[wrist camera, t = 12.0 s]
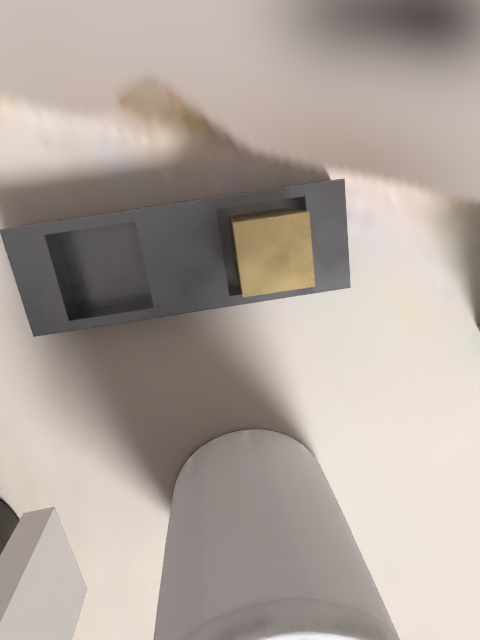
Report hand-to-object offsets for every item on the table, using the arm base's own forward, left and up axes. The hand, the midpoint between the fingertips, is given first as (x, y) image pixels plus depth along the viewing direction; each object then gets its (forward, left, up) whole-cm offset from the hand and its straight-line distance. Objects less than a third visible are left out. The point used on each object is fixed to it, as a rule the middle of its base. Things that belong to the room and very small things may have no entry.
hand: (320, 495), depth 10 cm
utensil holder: (-2, -18, -22) cm, 28 cm away
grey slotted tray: (-4, +4, -22) cm, 22 cm away
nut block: (+2, +4, -21) cm, 21 cm away
